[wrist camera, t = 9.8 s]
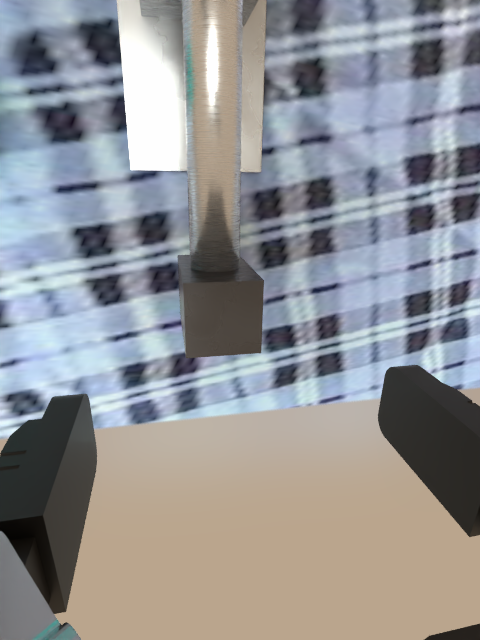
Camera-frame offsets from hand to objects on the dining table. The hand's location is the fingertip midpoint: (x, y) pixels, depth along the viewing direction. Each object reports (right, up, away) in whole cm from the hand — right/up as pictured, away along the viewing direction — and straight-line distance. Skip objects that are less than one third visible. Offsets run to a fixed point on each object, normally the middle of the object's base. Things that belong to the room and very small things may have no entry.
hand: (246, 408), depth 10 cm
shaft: (-2, +15, +12) cm, 19 cm away
